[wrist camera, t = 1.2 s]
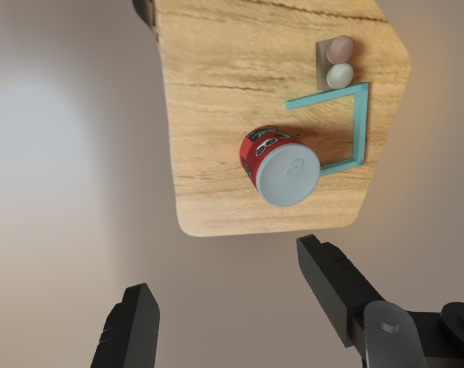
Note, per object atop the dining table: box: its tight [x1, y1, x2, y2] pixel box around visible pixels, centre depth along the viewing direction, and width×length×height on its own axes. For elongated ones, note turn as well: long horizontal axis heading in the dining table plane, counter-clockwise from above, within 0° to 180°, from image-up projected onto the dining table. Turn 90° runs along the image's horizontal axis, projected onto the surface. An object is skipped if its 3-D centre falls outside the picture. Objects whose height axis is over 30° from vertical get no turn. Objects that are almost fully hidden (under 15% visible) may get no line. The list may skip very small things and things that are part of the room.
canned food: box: [240, 126, 320, 207], centre depth 31 cm, size 8×8×11 cm
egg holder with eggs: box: [316, 35, 354, 90], centre depth 30 cm, size 6×3×5 cm, turn 12°
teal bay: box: [285, 82, 368, 176], centre depth 36 cm, size 13×12×2 cm
